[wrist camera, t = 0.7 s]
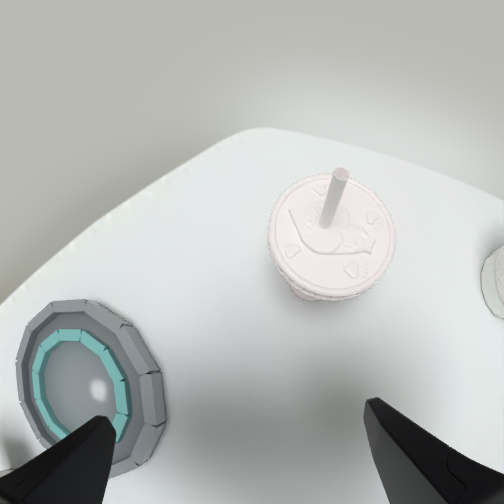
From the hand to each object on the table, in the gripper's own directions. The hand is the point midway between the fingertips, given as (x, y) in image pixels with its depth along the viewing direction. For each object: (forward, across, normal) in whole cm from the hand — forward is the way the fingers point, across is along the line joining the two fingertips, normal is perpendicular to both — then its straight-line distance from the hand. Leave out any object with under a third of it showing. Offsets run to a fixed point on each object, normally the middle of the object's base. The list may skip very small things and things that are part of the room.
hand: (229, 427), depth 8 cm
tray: (+10, +16, +8) cm, 20 cm away
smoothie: (+15, -5, +1) cm, 16 cm away
